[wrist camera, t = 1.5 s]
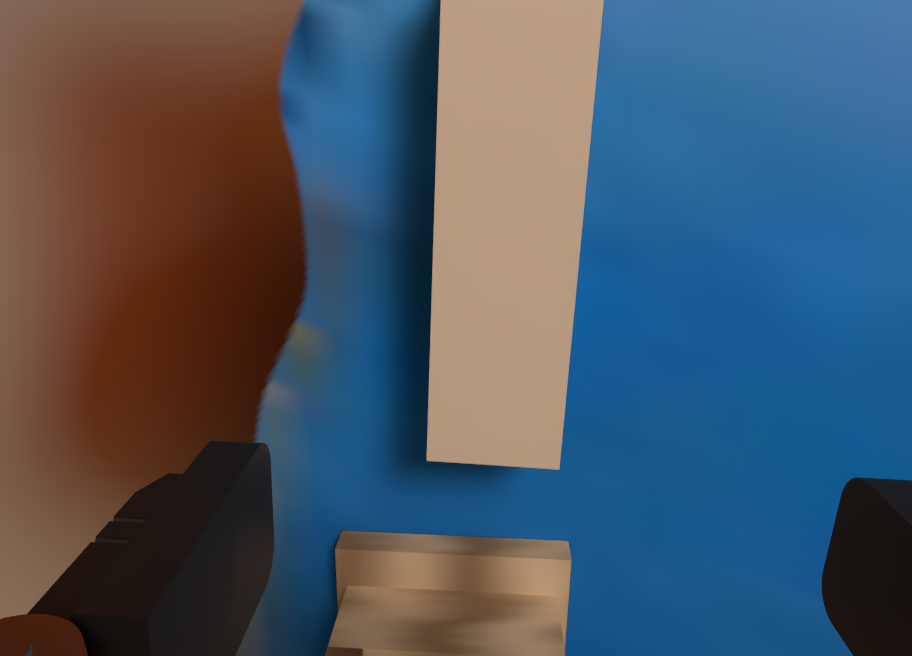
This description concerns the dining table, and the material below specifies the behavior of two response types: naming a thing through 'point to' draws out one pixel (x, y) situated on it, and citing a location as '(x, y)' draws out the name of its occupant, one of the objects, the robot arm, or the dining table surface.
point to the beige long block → (508, 224)
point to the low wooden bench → (449, 596)
